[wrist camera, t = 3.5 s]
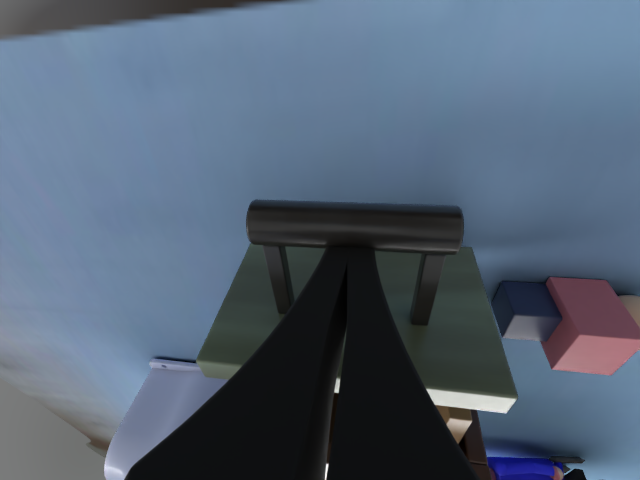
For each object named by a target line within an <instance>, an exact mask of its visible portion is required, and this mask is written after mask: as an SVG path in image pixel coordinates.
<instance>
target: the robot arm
mask: <svg viewBox="0 0 640 480" xmlns="http://www.w3.org/2000/svg"><path fill="white" fill-rule="evenodd" d="M346 328H347V329H346ZM345 333H346V341H345V348H344V356H343V364H342V372H341V379H340V386H339V394H338V401H337V409H336V416H335V422H334V429H333V436H332V443H331V450H330V457H329V464H328V470H327V477H326V480H481V479H480V478H479V476H478V475H477V473H476V472H475V470H474V469H473V467H472V466H471V464H470V462H469V461H468V459H467V458H466V456H465V454H464V453H463V451H462V450H461V448H460V446H459V445H458V443H457V442H456V440H455V438H454V437H453V435H452V433H451V431H450V430H449V428H448V426H447V425H446V423H445V421H444V419H443V418H442V416H441V414H440V413H439V411H438V409H437V407H436V406H435V404H434V402H433V401H432V399H431V397H430V395H429V393H428V392H427V390H426V388H425V386H424V384H423V382H422V380H421V378H420V376H419V374H418V372H417V370H416V368H415V366H414V364H413V362H412V360H411V358H410V356H409V354H408V352H407V350H406V348H405V345H404V343H403V341H402V339H401V336H400V334H399V331H398V329H397V327H396V324H395V322H394V319H393V317H392V314H391V311H390V309H389V306H388V303H387V300H386V297H385V294H384V291H383V288H382V284H381V281H380V277H379V273H378V269H377V264H376V257H375V250H373V249H372V248H356V247H337V246H329V247H327V248H326V249H325V251H324V253H323V255H322V257H321V259H320V261H319V263H318V265H317V267H316V269H315V270H314V272H313V274H312V275H311V277H310V279H309V280H308V282H307V283H306V285H305V287H304V288H303V290H302V291H301V293H300V294H299V296H298V297H297V299H296V300H295V302H294V303H293V304H292V306H291V307H290V309H289V310H288V311H287V313H286V314H285V315H284V317H283V318H282V320H281V321H280V322H279V324H278V325H277V326H276V327H275V329H274V330H273V331H272V332H271V334H270V335H269V336H268V337H267V338H266V340H265V341H264V342H263V343H262V344H261V346H260V347H259V348H258V349H257V350H256V351H255V352H254V354H253V355H252V356H251V357H250V358H249V359H248V360H247V361H246V362H245V363H244V364H243V365H242V367H241V368H240V369H239V370H238V371H237V372H236V373H235V374H234V375H233V376H232V377H231V378H230V379H229V380H226V379H217V378H209V377H205V376H204V374H203V372H202V371H201V369H200V367H199V366H198V364H197V363H188V362H180V361H171V360H162V359H151V361H150V362H149V364H150V366H151V367H152V369H151V371H150V373H149V374H148V376H147V378H146V380H145V381H144V383H143V385H142V387H141V389H140V390H139V392H138V394H137V396H136V397H135V399H134V401H133V403H132V404H131V406H130V408H129V410H128V411H127V413H126V415H125V417H124V418H123V420H122V422H121V424H120V426H119V427H118V429H117V431H116V433H115V435H114V437H113V439H112V441H111V443H110V446H109V449H108V452H107V456H106V460H105V466H104V473H105V478H106V480H325V472H326V462H327V452H328V442H329V432H330V423H331V413H332V404H333V397H334V390H335V384H336V379H337V374H338V369H339V364H340V359H341V353H342V348H343V343H344V338H345Z"/></svg>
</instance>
